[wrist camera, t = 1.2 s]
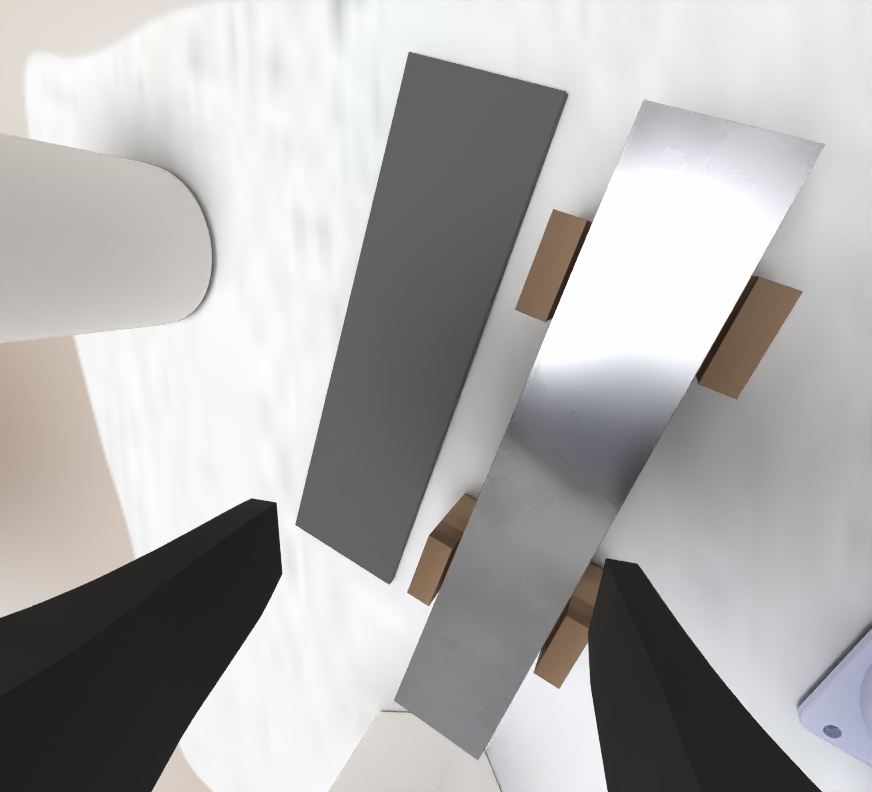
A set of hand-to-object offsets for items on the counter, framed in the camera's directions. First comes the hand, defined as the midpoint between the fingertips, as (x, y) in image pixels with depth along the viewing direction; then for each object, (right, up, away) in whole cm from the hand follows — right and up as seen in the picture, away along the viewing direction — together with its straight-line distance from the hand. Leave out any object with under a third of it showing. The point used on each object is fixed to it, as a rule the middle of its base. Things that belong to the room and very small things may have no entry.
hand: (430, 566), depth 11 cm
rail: (+5, +1, +6) cm, 8 cm away
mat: (-1, +5, +11) cm, 12 cm away
